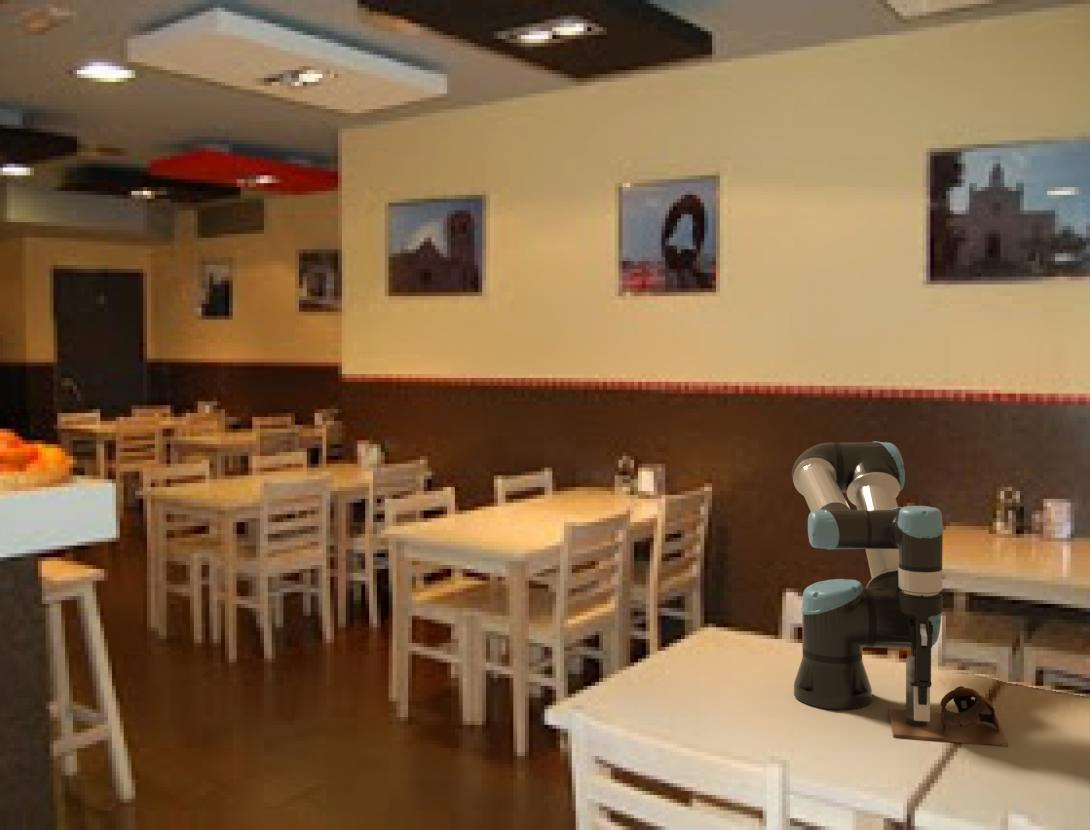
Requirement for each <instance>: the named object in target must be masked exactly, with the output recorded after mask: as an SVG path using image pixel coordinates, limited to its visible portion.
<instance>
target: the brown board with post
mask: <svg viewBox="0 0 1090 830" xmlns="http://www.w3.org/2000/svg"><path fill="white" fill-rule="evenodd" d="M911 682H915V656H911V655H909V656H907V657H905V709H898V708H897V709H896V708H894V709H893V708H887V709H888V710H887V711H888V717H889V722H890V727H891V733H892V738H898V739H910V740H919V741H921V740H922V741H934V742H935V741H936V742H937V741H938V742H947V743H956V744H957V743H960V744H973V745H983V744H988V745H987V746H995V745H1004V746H1003V747H1009V741H1008V740H1007V737H1006V735H1005V734H1004V731H1003V729H1002V727H1001V725H1000V724H999V729H1000V731H999V732H997V729H996V727H995V725H994V724H992V723H988V722H981V725H978V724H971V725H968V726H963V725H962V727H952V726H946V728H944V727H943V725H942V723H941V718H940V717H941V712H940V711H938V712H937V711H936V712H935V711H930V722H927V721H914V686H911ZM989 744H991V745H989Z"/></svg>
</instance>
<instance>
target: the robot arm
mask: <svg viewBox="0 0 1090 830" xmlns="http://www.w3.org/2000/svg"><path fill="white" fill-rule="evenodd" d="M905 470H906V469H905V467H904V460H903V457H902V454H901V451H900V450H899V448H898V447H897V446H896V445H895V444H893V443H891V442H882V441H881V442H880V441H876V440H875V441H871V442H865V441H864V442H824V443H819V444H815V445H813V446H811V447H810V448H807V449H806V450H805V451H803V452H802V453H801V454H800V455H799V456H798V457H797V458H796V460H795V461H794V464H793V467H792V469H791V480H792V483H793V485H794V487H795V489H796V491H797V492H798V493H799V494H800V495H802V496H804V497H803V498H804V499H805V501H806V504H807V506H808V508H809V510H810V512H809V513H808V518H807V536H808V541H809V544H810V546H811V547H812V548H814V549H824V550H825V549H826V550H829V551H830V550H860V549H861V550H864V549H865V553H866V558H867V562H868V567H869V572H870V576H871V579H870V580H869V581H868V583H867V585H866V587H865V588H864V586H863V585H862V582H860V581H859V580H856V579H852V578H851V579H845V578H835V579H827V580H822V581H821V580H820V581H817V582H813V584H810V585H808V586H807V587H806V588H805V589H804V590H803V593H802V600H801V602H802V603H801V609H800V611H801V615H802V616H801V617H802V619H801V620H802V621H801V623H802V628H801V629H802V657H801V661H800V664H799V667H798V670H797V673H796V677H795V680H794V683H793V696H794V697H795V698H796V699H797V700H798V701H799V702H802V703H804V704H805V705H808V706H812V707H816V708H821V709H827V710H828V709H829V710H840V711H841V710H842V711H843V710H854V709H859V708H860V709H861V708H863V707H866V706H868V705H870V704H871V703H872V701H873V700H872V699H873V697H872V696H873V695H872V694H873V691H872V690H873V688H872V686H871V683H870V679H869V677H868V674H867V671H866V667H865V665H864V664H865V663H864V662H863V649H864V648H891V649H892V648H895V649H896V648H897V649H898V648H899V649H901V648H902V649H910V656H915V682H911V686H914V721H927V722H930V712H931V688H932V685H933V684H932V648H933V646H934V645H936V643H937V642H938V639H939V636H940V631H941V624H942V623H941V622H942V613H943V605H944V603H943V602H944V601H943V600H944V599H943V594H942V593H941V591H943V581H942V580H945V579H947V576H946V574H945V573H943V549H944V547H943V537H944V535H943V533H944V529H945V528H944V524H943V513H942V511H941V510H940V509H939V508H937V507H934V506H932V507H931V506H927V505H908V506H903V507H902V506H898V503H897V499H896V498H897V497H898V496H899V495H900V491H902V490H903V488H904V485H905V481H906V471H905ZM843 493H846V496H847V498H848V500H849V502H850V503H852V504H853V505H854V506H856V509H851V508H850V505H849V504H848V502H847V499H846V498H845V496H844V494H843Z"/></svg>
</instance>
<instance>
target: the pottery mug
mask: <svg viewBox="0 0 1090 830" xmlns="http://www.w3.org/2000/svg"><path fill="white" fill-rule="evenodd" d="M973 698H974V699H973ZM951 701H953V702H954V705H955V706H956V708H957V712H955V711H953V712H952V711H950V710H948V709H947V708H946V707H947V705H948V704H949V703H950V702H951ZM939 706H941V711H940V713H941V717H940V718H941V723H942V725H943V727H944V728H946V726H952V727H962V725H963V726H968V725H971V724H978V725H981V722H988V723H992V724H994V725H995V727H996V729H997V732H999V731H1000V729H999V725H1000V722H999V719H998V717H997V715H996V713H995V708H994V706H993V704H992V703H991V702H990V700H989V699H988V698H986V697H985V696H983V695H982V694H980V693H979V692H978V691H977V690H975V689H973V688H969V687H965V686H963V685H962V686H961V685H960V686H957V687H955V689H953V690H951V691H949V692H947V693H946V694H945V695H944V696H943V697H942V699H940V705H939Z"/></svg>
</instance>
